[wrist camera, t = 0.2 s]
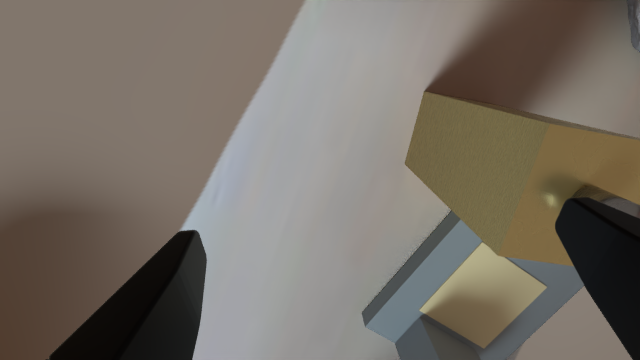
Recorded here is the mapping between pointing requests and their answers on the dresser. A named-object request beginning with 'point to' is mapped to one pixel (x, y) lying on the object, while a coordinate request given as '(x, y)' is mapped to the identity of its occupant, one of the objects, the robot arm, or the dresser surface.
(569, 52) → the dresser surface
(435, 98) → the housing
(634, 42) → the stone block
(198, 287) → the robot arm
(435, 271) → the press
